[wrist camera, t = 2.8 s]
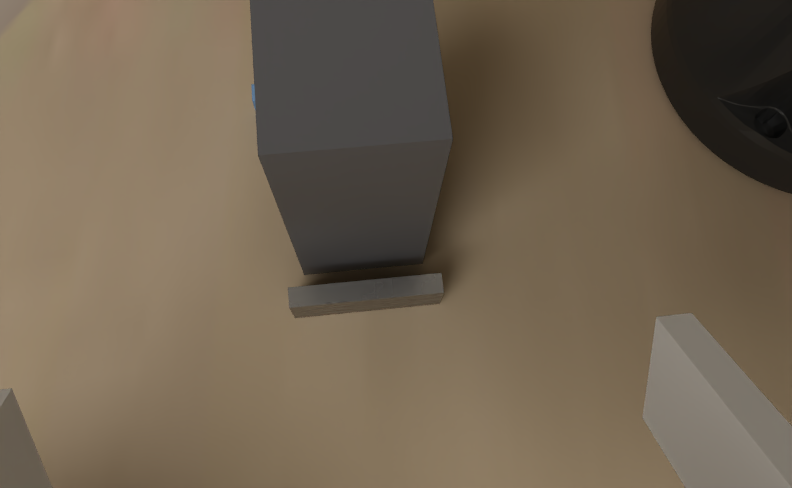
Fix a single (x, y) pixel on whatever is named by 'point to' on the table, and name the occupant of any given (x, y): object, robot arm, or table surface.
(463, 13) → the table surface
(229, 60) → the table surface
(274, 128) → the dark grey rectangular block
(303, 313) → the pair of grey bars
